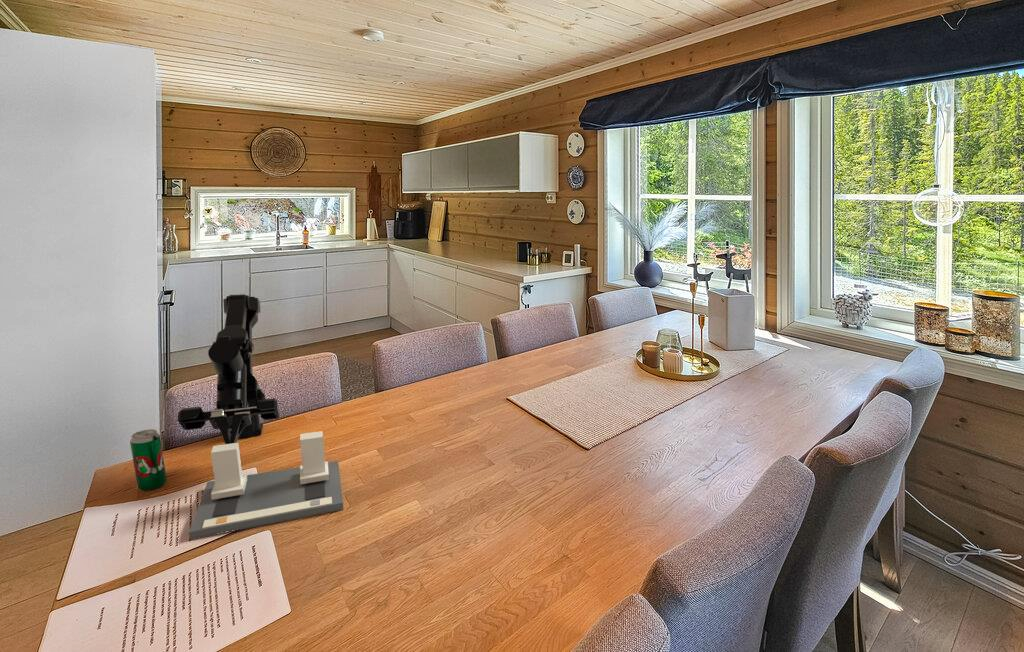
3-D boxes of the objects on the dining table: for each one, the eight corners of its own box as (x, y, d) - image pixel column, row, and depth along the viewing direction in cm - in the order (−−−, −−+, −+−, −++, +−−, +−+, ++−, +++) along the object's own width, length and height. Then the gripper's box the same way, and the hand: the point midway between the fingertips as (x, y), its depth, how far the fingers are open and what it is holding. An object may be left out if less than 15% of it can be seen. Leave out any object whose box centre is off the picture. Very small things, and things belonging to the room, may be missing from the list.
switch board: (208, 488, 104) (207, 480, 104) (338, 466, 114) (337, 459, 113) (190, 539, 88) (188, 530, 88) (343, 509, 98) (342, 501, 97)
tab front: (216, 484, 102) (211, 443, 100) (247, 479, 104) (242, 439, 102) (211, 499, 97) (205, 456, 94) (243, 494, 99) (238, 451, 97)
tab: (300, 470, 108) (297, 431, 106) (328, 466, 110) (325, 427, 108) (300, 484, 102) (296, 443, 100) (329, 479, 104) (326, 439, 102)
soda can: (159, 477, 108) (151, 426, 105) (172, 483, 106) (164, 431, 103) (133, 488, 104) (123, 435, 101) (146, 495, 101) (137, 441, 99)
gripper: (280, 395, 121) (282, 456, 113) (192, 404, 114) (187, 471, 107) (276, 374, 112) (277, 439, 105) (179, 383, 105) (174, 453, 98)
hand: (230, 451), depth 104 cm, fingers closed
